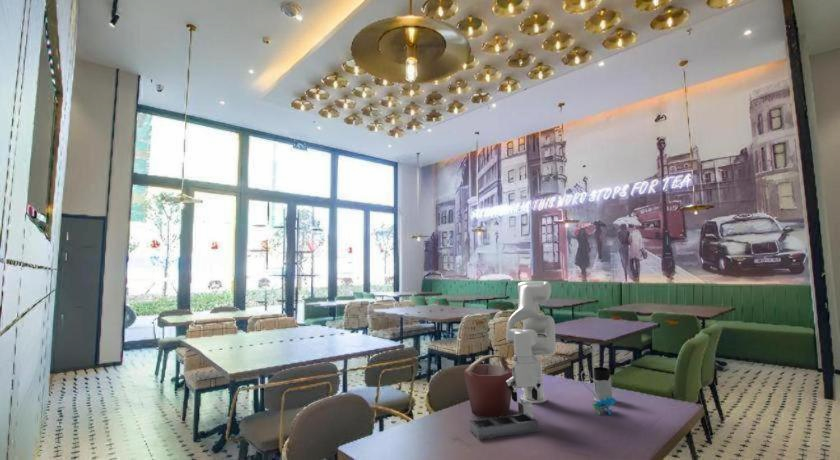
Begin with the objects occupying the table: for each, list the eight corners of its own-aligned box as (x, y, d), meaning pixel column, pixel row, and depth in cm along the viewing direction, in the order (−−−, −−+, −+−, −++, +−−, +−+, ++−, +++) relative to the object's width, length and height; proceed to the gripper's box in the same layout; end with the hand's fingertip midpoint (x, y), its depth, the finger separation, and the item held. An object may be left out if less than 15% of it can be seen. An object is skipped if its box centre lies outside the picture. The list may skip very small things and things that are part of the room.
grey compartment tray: (478, 439, 152) (478, 428, 152) (469, 430, 161) (469, 420, 161) (538, 431, 159) (537, 421, 159) (526, 423, 167) (526, 413, 168)
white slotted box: (518, 418, 173) (518, 401, 174) (527, 416, 174) (527, 399, 175) (524, 421, 169) (523, 404, 170) (533, 420, 170) (532, 403, 171)
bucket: (502, 400, 197) (500, 349, 199) (527, 415, 176) (524, 358, 178) (457, 406, 189) (456, 353, 192) (477, 423, 168) (475, 363, 171)
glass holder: (615, 403, 189) (612, 371, 191) (583, 401, 193) (581, 370, 195) (611, 397, 198) (609, 367, 199) (581, 395, 202) (579, 365, 203)
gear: (611, 404, 183) (616, 394, 177) (618, 417, 179) (623, 406, 172) (588, 409, 182) (593, 398, 176) (595, 421, 178) (599, 411, 171)
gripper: (509, 362, 168) (511, 404, 166) (545, 360, 173) (547, 400, 170) (501, 359, 175) (502, 399, 173) (535, 357, 180) (537, 396, 178)
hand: (524, 400), depth 172 cm, fingers open, 9 cm apart
